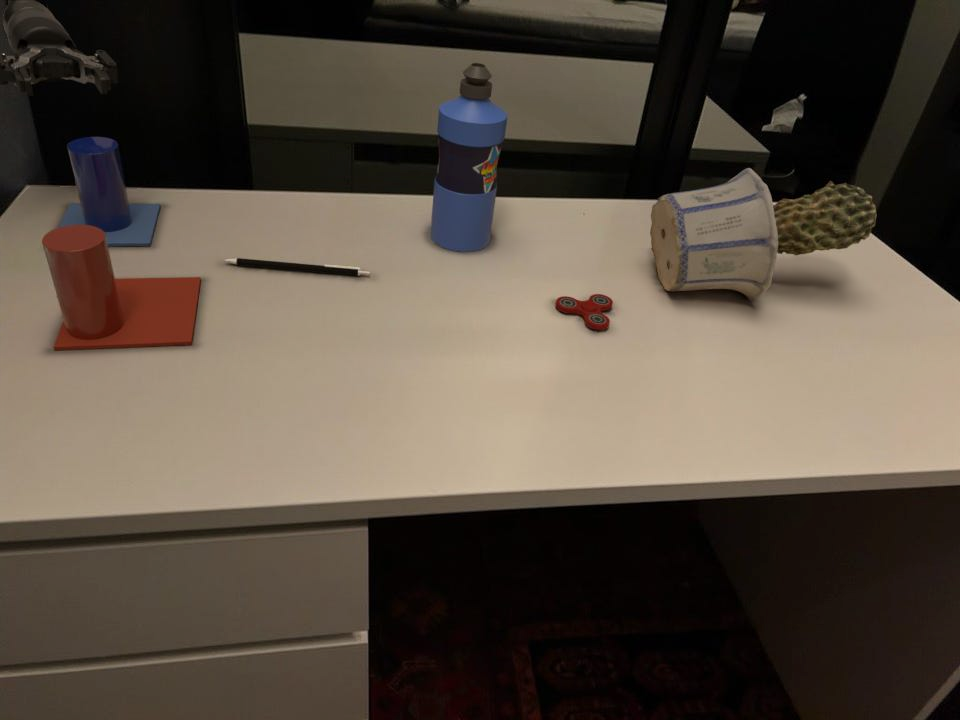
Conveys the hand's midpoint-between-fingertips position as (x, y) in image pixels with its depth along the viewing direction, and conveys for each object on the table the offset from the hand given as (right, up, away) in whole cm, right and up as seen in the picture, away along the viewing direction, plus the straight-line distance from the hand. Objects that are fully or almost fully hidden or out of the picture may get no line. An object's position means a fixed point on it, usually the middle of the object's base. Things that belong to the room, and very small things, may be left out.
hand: (67, 87), depth 93 cm
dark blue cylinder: (+1, -15, +8) cm, 18 cm away
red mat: (+12, -29, -7) cm, 32 cm away
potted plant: (+91, -24, +15) cm, 95 cm away
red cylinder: (+9, -31, -10) cm, 33 cm away
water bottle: (+49, -16, +17) cm, 55 cm away
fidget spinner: (+67, -29, +4) cm, 73 cm away
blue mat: (+1, -16, +9) cm, 18 cm away
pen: (+28, -23, +5) cm, 36 cm away
